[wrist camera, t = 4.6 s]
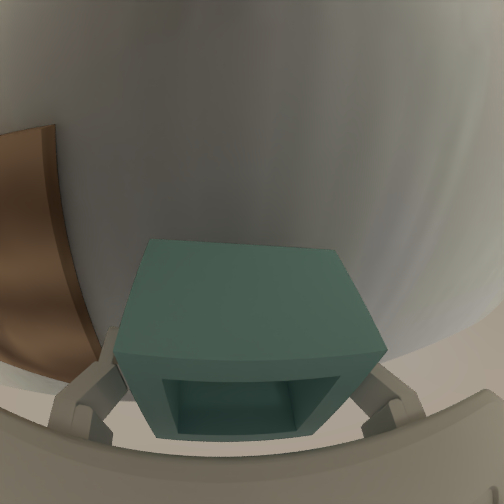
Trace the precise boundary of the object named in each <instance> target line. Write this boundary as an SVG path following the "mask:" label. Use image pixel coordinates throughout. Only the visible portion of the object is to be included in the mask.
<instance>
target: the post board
mask: <svg viewBox="0 0 504 504" xmlns="http://www.w3.org/2000/svg"><path fill="white" fill-rule="evenodd" d="M101 350H102V349H101V346H100V344H99V341H98V339H97V336H96V333H95V331H94V328H93V325H92V323H91V320H90V317H89V314H88V311H87V308H86V305H85V302H84V299H83V296H82V293H81V289H80V286H79V282H78V279H77V275H76V272H75V268H74V264H73V260H72V256H71V252H70V247H69V243H68V238H67V233H66V228H65V223H64V217H63V211H62V205H61V198H60V190H59V182H58V172H57V159H56V141H55V124H54V125H47V126H42V127H36V128H31V129H26V130H21V131H16V132H12V133H7V134H3V135H0V361H2V362H5V363H7V364H10V365H13V366H15V367H18V368H21V369H24V370H27V371H30V372H33V373H36V374H39V375H42V376H46V377H49V378H53V379H56V380H60V381H63V382H67V383H71V382H72V381H73V380H74V379H75V378H76V377H77V376H79V375H80V374H81V373H82V372H83V371H84V370H85V369H87V368H88V367H89V366H90V365H91V364H92V363H93V362H94V361H97V362H98V361H99V357H100V354H101Z"/></svg>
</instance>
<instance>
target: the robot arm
mask: <svg viewBox="0 0 504 504" xmlns="http://www.w3.org/2000/svg"><path fill="white" fill-rule="evenodd" d="M118 330H119V327H112V326H110V328H109V329H108V331H107V334H106V337H105V340H104V344H103V347H102V350H101V354H100V357H99V361H98V362H97V361H94V362H93V363H92V364H91V365H90V366H89V367H88V368H87V369H85V370H84V371H83V372H82V373H81V374H80V375H79V376H77V377H76V378H75V379H74V380H73V381H72V382H71V383H70V384H69V385H67V386H66V387H65V388H64V389H63V390H62V391H61V392H60V393H58V394H57V395H56V396H55V399H54V403H53V407H52V410H51V414H50V419H49V423H48V427H45V426H42V425H40V424H37V423H35V422H32V421H30V420H27V419H25V418H23V417H20V416H18V415H16V414H14V413H12V412H9V411H7V410H5V409H3V408H1V407H0V504H504V400H502V399H501V398H500V397H499V396H498V395H496V394H495V393H494V392H492V391H490V390H488V389H483V390H481V391H479V392H477V393H475V394H474V395H472V396H470V397H468V398H466V399H464V400H462V401H460V402H458V403H457V404H454V405H452V406H450V407H448V408H446V409H444V410H441V411H439V412H437V413H435V414H432V415H430V416H428V417H426V415H425V412H424V410H423V407H422V405H421V402H420V400H419V398H418V395H417V393H416V392H415V391H414V390H413V389H411V388H410V387H409V386H407V385H406V384H405V383H403V382H402V381H401V380H399V378H397V377H396V376H395V375H393V374H392V373H391V372H390V371H388V370H387V369H386V368H385V367H383V366H382V365H381V364H380V363H377V365H376V366H375V367H374V368H373V370H372V371H371V372H370V373H369V374H368V376H367V377H366V378H365V379H364V381H363V382H362V383H361V384H360V385H359V386H358V388H357V389H356V390H355V391H354V392H353V393H352V394H351V396H350V398H351V399H352V400H353V401H354V402H355V403H356V404H357V405H358V406H359V407H360V408H361V409H362V410H363V411H364V412H365V413H366V414H367V415H368V416H369V417H370V419H369V420H368V421H366V422H365V423H364V424H363V425H362V427H361V429H362V432H363V435H364V438H363V439H359V440H355V441H351V442H346V443H342V444H338V445H333V446H328V447H323V448H317V449H311V450H305V451H298V452H291V453H283V454H273V455H261V456H242V457H199V456H182V455H169V454H160V453H152V452H145V451H138V450H132V449H126V448H121V447H116V446H112V438H113V432H112V431H111V430H110V429H109V428H108V427H107V426H106V424H105V423H104V422H103V420H104V419H105V418H106V416H107V415H108V414H109V413H110V411H111V410H112V409H113V408H114V407H115V406H116V404H117V403H118V402H119V401H120V400H121V398H122V397H123V396H124V395H125V393H126V392H127V391H128V390H130V388H129V386H128V384H127V382H126V380H125V378H124V376H123V374H122V371H121V369H120V367H119V365H118V362H117V360H116V358H115V355H114V353H113V348H114V345H115V341H116V337H117V334H118ZM127 389H128V390H127Z"/></svg>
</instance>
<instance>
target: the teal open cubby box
mask: <svg viewBox="0 0 504 504" xmlns="http://www.w3.org/2000/svg"><path fill="white" fill-rule="evenodd" d="M386 351H387V347H386V345H385V343H384V341H383V339H382V337H381V335H380V333H379V331H378V329H377V327H376V325H375V323H374V321H373V319H372V317H371V315H370V313H369V311H368V310H367V308H366V306H365V304H364V302H363V300H362V298H361V296H360V294H359V293H358V291H357V289H356V287H355V285H354V283H353V282H352V280H351V278H350V276H349V274H348V273H347V271H346V269H345V267H344V265H343V264H342V262H341V260H340V258H339V257H338V255H337V253H336V252H335V250H326V249H311V248H295V247H280V246H264V245H248V244H232V243H215V242H198V241H180V240H162V239H150V240H149V242H148V245H147V247H146V250H145V253H144V255H143V258H142V261H141V263H140V266H139V269H138V272H137V274H136V277H135V280H134V283H133V286H132V289H131V292H130V295H129V298H128V301H127V304H126V307H125V310H124V314H123V317H122V320H121V324H120V327H119V330H118V334H117V337H116V341H115V345H114V348H113V353H114V355H115V358H116V360H117V362H118V365H119V367H120V369H121V371H122V374H123V376H124V378H125V380H126V382H127V384H128V386H129V388H130V390H131V392H132V394H133V396H134V398H135V400H136V402H137V404H138V406H139V408H140V410H141V412H142V413H143V415H144V417H145V419H146V421H147V423H148V424H149V426H150V428H151V429H152V431H153V433H154V435H155V436H156V438H162V439H172V440H187V441H206V442H239V441H261V440H274V439H284V438H293V437H301V436H308V435H313V434H314V433H315V432H316V431H317V430H318V429H319V428H320V427H321V426H322V425H323V424H324V423H325V422H326V421H327V420H328V419H329V418H330V417H331V416H332V415H333V414H334V413H335V411H337V410H338V409H339V408H340V406H341V405H342V404H343V403H344V402H345V401H346V400H347V399H348V398H349V397H350V396H351V394H352V393H353V392H354V391H355V390H356V389H357V388H358V386H359V385H360V384H361V383H362V382H363V381H364V379H365V378H366V377H367V376H368V374H369V373H370V372H371V371H372V370H373V368H374V367H375V366H376V365H377V363H378V362H379V361H380V359H381V358H382V357H383V355H384V354H385V353H386Z"/></svg>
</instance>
